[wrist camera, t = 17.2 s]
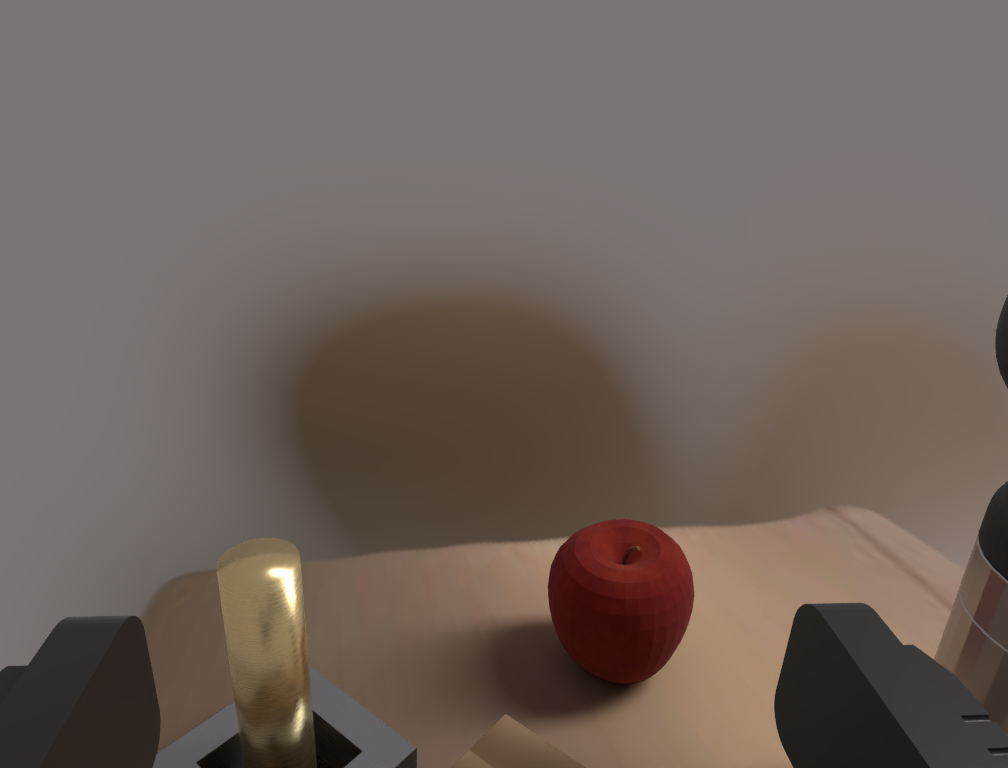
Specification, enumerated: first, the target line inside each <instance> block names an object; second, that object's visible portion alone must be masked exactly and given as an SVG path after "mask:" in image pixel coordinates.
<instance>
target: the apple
mask: <svg viewBox="0 0 1008 768" xmlns="http://www.w3.org/2000/svg"><path fill="white" fill-rule="evenodd" d="M548 596H549V606H550V612H551V617H552V621H553V624H554V627H555V630H556V632H557V635H558V637H559V639H560V641H561V643H562V644H563V646H564V648H565V649H566V651H567V652H568V653H569V655H570V656H571V657H572V658H573V659H574V660H575V661H576V662H577V663H578V664H579V665H580V666H581V667H582V668H584V669H585V670H587V671H588V672H589V673H591V674H593V675H595V676H597V677H599V678H602V679H604V680H607V681H610V682H614V683H623V684H628V683H637V682H641V681H644V680H646V679H648V678H650V677H651V676H653V675H654V674H656V673H657V672H658V671H659V670H660V669H661V668H662V667H663V666H664V665H665V664H666V663H667V662H668V660H669V659H670V657H671V656H672V654H673V653H674V651H675V650H676V648H677V647H678V645H679V643H680V642H681V640H682V638H683V635H684V633H685V631H686V629H687V626H688V623H689V620H690V616H691V613H692V608H693V601H694V586H693V577H692V572H691V569H690V566H689V563H688V561H687V559H686V557H685V555H684V553H683V551H682V550H681V548H680V546H679V545H678V544H677V543H676V542H675V541H674V540H673V539H672V538H671V537H669V536H668V535H667V534H666V533H664V532H663V531H662V530H660V529H659V528H657V527H655V526H653V525H650V524H647V523H644V522H640V521H635V520H625V519H623V520H610V521H604V522H600V523H597V524H594V525H591V526H588V527H586V528H583V529H581V530H579V531H577V532H576V533H574V534H573V535H572V536H571V537H570V538H569V539H568V540H567V541H566V542H565V543H564V544H563V545H562V546H561V547H560V548H559V550H558V552H557V554H556V556H555V558H554V560H553V563H552V565H551V569H550V575H549V582H548Z"/></svg>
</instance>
